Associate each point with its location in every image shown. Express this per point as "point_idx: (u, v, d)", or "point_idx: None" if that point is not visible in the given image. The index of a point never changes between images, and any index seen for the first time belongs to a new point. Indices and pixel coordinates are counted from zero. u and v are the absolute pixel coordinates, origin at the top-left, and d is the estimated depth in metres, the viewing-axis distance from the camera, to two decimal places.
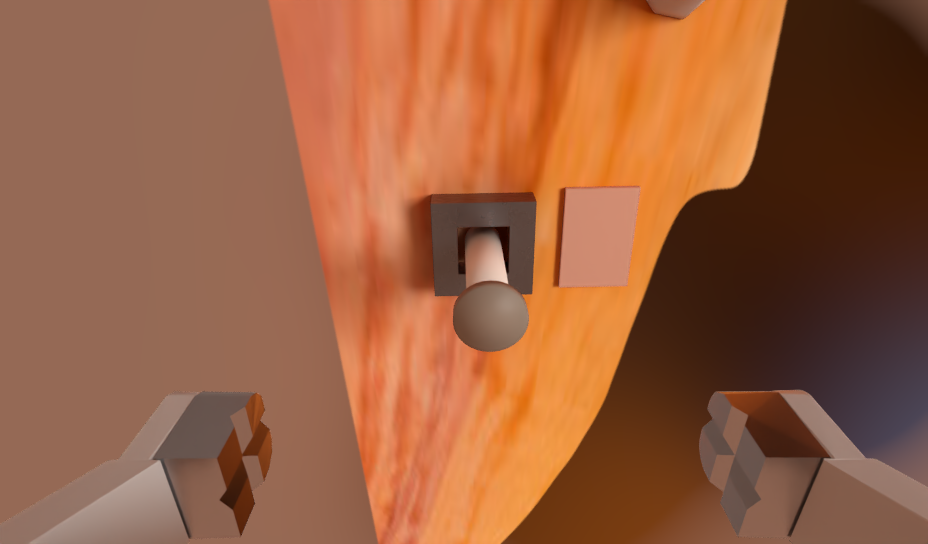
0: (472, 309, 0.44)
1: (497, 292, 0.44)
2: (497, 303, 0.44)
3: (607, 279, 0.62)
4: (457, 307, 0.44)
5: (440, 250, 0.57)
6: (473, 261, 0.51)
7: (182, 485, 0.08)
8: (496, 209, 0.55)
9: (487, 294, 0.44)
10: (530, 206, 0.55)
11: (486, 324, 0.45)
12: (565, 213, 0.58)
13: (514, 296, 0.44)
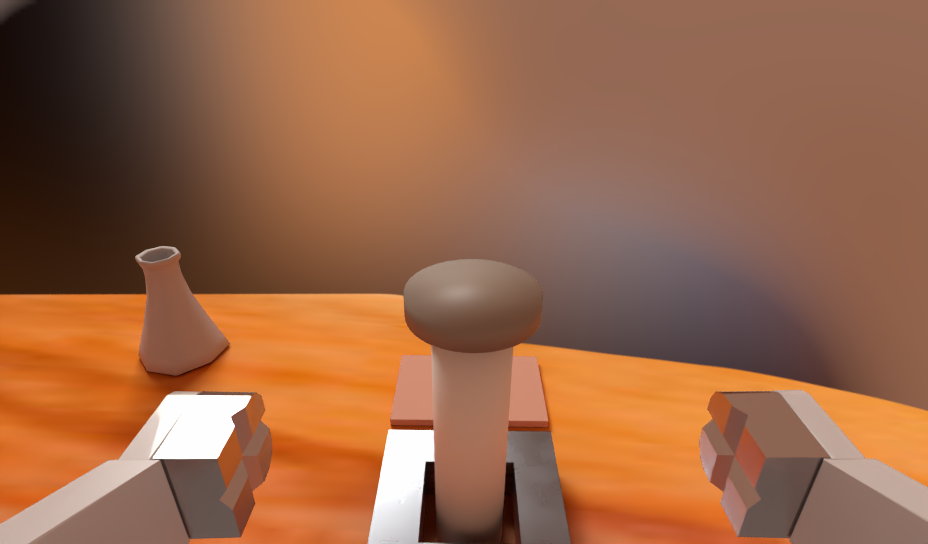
0: (447, 307, 0.23)
1: (415, 284, 0.25)
2: (439, 283, 0.25)
3: (529, 373, 0.45)
4: (441, 324, 0.22)
5: None
6: (440, 439, 0.27)
7: (182, 485, 0.08)
8: (392, 480, 0.32)
9: (417, 292, 0.24)
10: (395, 436, 0.36)
11: (481, 293, 0.24)
12: (427, 418, 0.40)
13: (426, 270, 0.26)
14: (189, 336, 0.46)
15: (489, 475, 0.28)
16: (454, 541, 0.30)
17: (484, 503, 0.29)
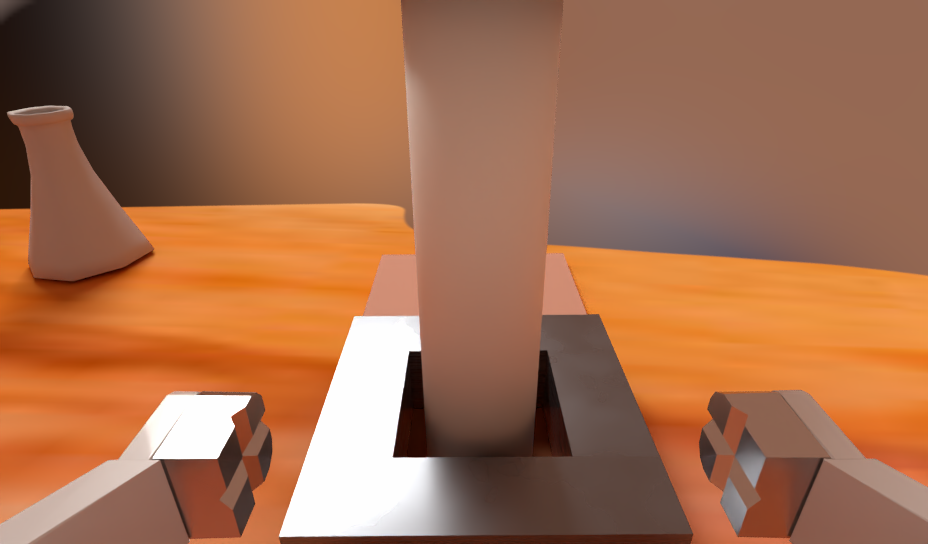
0: None
1: None
2: None
3: (555, 269, 0.33)
4: None
5: (479, 508, 0.15)
6: (426, 262, 0.15)
7: (182, 485, 0.08)
8: (354, 374, 0.20)
9: None
10: (364, 323, 0.23)
11: None
12: None
13: None
14: (91, 229, 0.34)
15: (516, 328, 0.16)
16: None
17: (506, 385, 0.16)
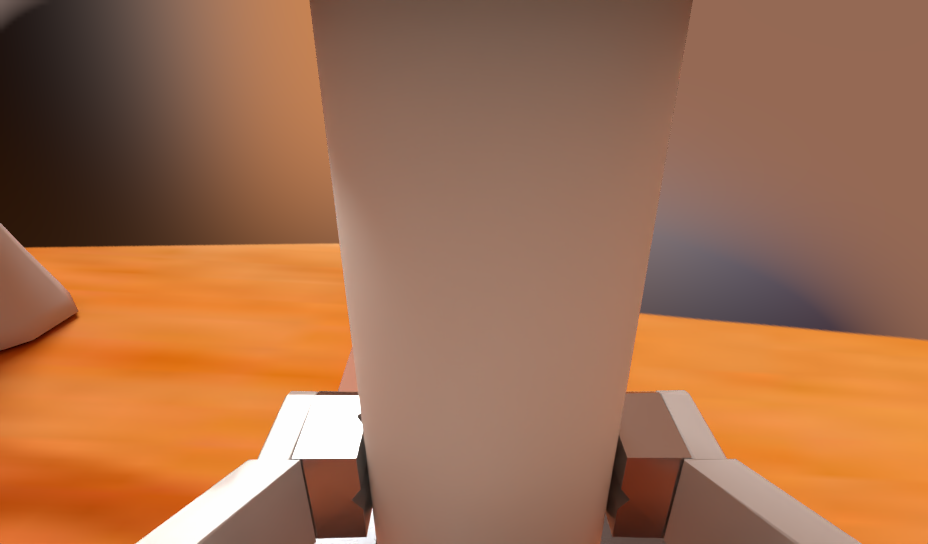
0: None
1: None
2: None
3: None
4: None
5: None
6: (384, 518, 0.08)
7: (317, 485, 0.08)
8: None
9: None
10: None
11: None
12: None
13: None
14: None
15: None
16: None
17: None
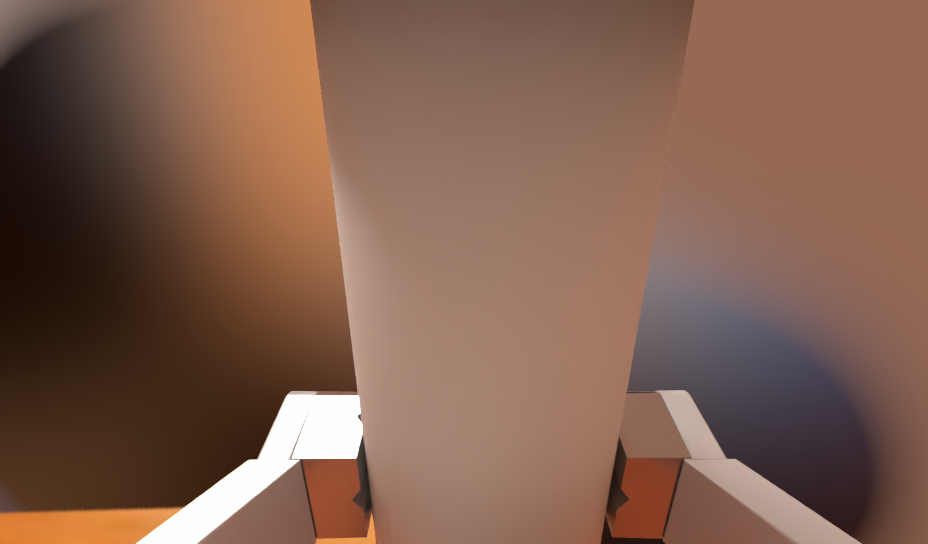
0: None
1: None
2: None
3: None
4: None
5: None
6: (384, 518, 0.08)
7: (317, 485, 0.08)
8: None
9: None
10: None
11: None
12: None
13: None
14: None
15: None
16: None
17: None
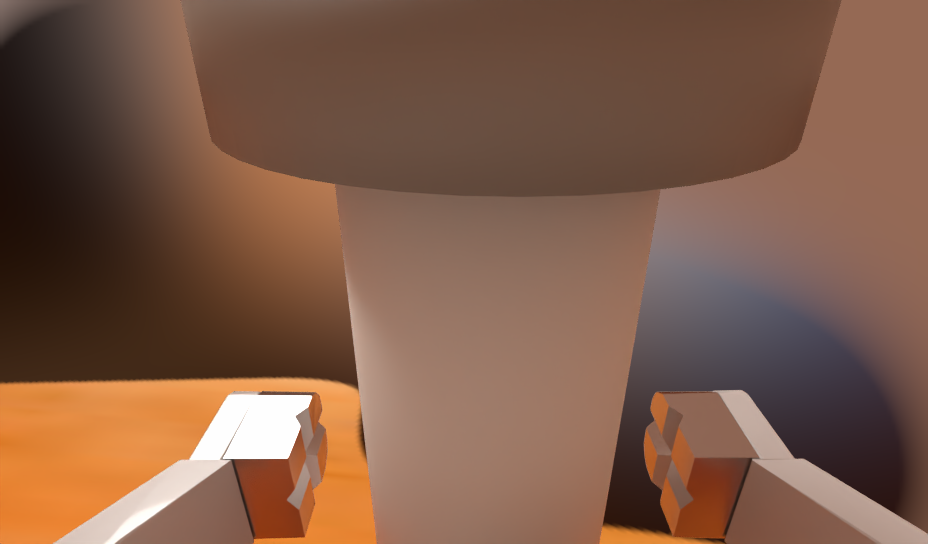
0: None
1: None
2: None
3: None
4: (317, 0, 0.03)
5: None
6: None
7: (251, 485, 0.08)
8: None
9: None
10: None
11: None
12: None
13: None
14: None
15: None
16: None
17: None
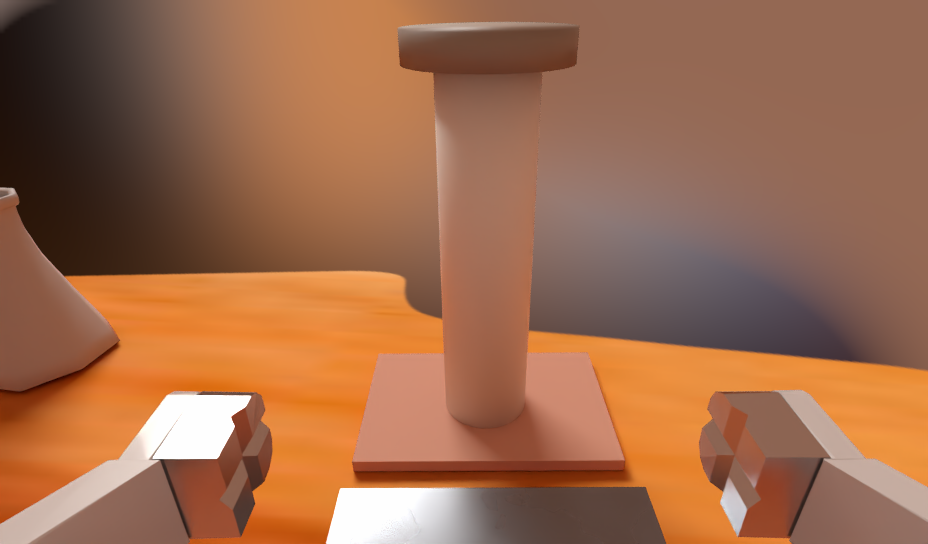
0: (455, 29, 0.18)
1: (412, 26, 0.19)
2: (443, 26, 0.19)
3: (580, 378, 0.28)
4: (448, 32, 0.16)
5: None
6: (448, 249, 0.22)
7: (182, 485, 0.08)
8: None
9: (416, 27, 0.19)
10: (351, 502, 0.19)
11: (499, 26, 0.19)
12: (415, 459, 0.23)
13: (427, 25, 0.21)
14: (43, 328, 0.29)
15: (510, 297, 0.22)
16: (468, 397, 0.24)
17: (504, 338, 0.23)
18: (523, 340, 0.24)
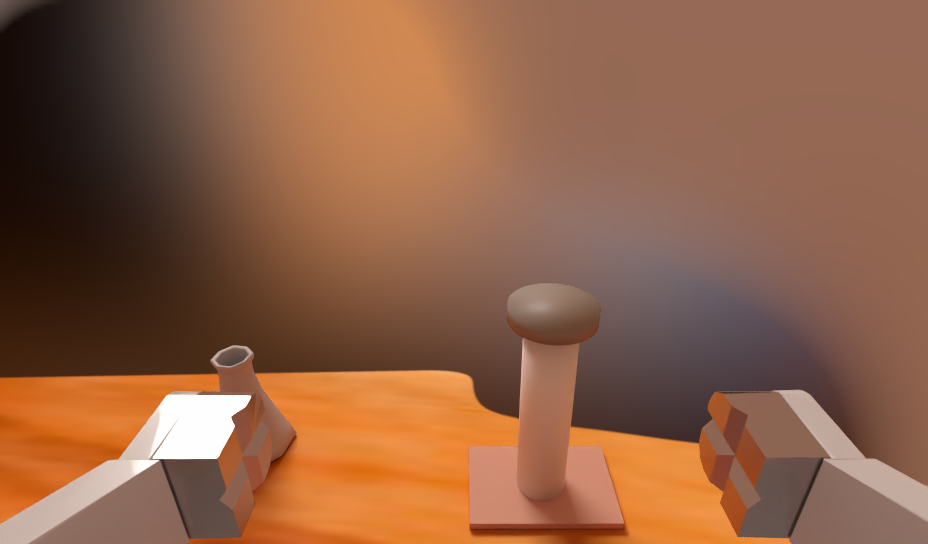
0: (540, 316, 0.36)
1: (513, 301, 0.37)
2: (529, 300, 0.37)
3: (596, 466, 0.46)
4: (539, 327, 0.34)
5: None
6: (527, 408, 0.40)
7: (182, 485, 0.08)
8: None
9: (517, 307, 0.37)
10: None
11: (559, 307, 0.37)
12: (505, 522, 0.41)
13: (518, 291, 0.39)
14: None
15: (561, 433, 0.40)
16: (533, 484, 0.42)
17: (556, 453, 0.41)
18: (566, 452, 0.42)
